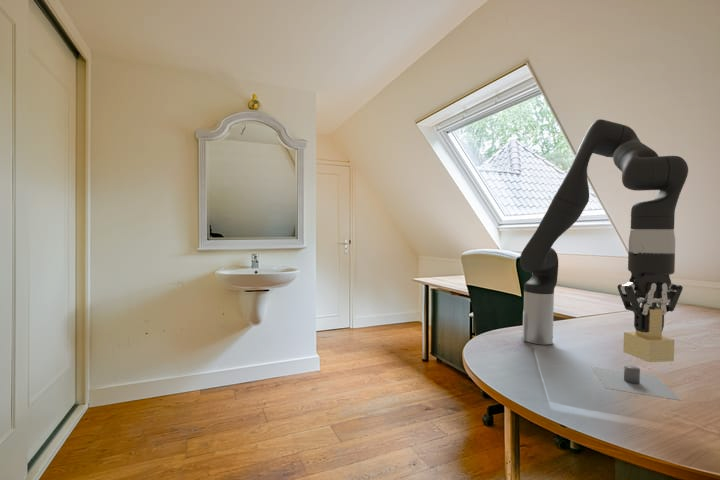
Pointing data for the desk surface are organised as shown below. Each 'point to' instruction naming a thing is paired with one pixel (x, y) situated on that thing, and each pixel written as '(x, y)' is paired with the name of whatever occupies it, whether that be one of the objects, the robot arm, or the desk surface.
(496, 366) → the desk surface
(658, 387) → the thin grey square mat
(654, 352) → the cream stepped block
